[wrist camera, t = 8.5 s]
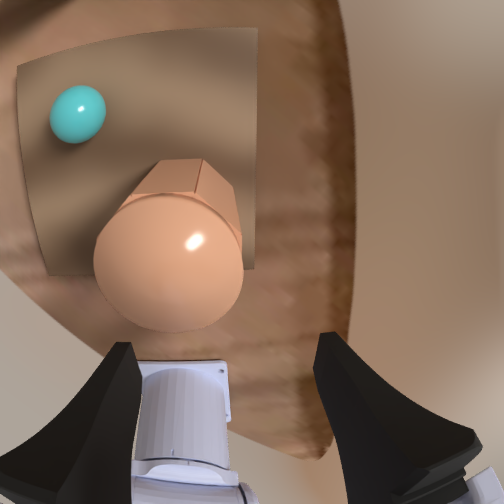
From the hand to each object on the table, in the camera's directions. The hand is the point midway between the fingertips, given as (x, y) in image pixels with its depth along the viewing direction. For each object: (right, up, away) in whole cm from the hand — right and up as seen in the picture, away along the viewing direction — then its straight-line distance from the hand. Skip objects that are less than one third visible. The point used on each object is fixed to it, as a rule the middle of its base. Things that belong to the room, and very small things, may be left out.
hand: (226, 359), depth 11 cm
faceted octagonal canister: (-3, +6, +6) cm, 9 cm away
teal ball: (-8, +11, +1) cm, 13 cm away
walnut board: (-6, +9, +5) cm, 12 cm away
